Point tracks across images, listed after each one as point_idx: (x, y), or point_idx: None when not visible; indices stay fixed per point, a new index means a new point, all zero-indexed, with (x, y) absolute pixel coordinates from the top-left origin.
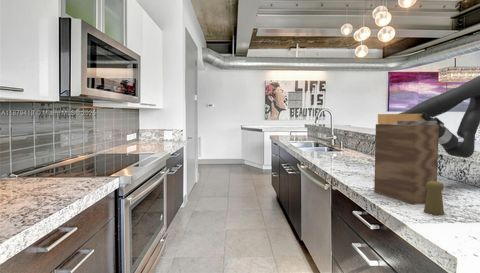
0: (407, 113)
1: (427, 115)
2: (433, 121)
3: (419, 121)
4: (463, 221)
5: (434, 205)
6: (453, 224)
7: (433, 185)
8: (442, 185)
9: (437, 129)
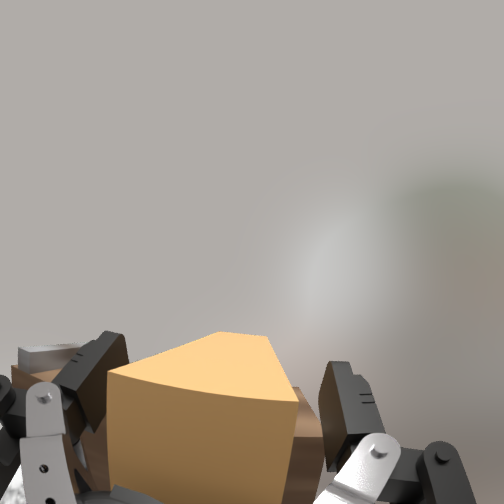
0: (328, 367)
1: (77, 358)
2: (35, 348)
3: (84, 343)
4: (6, 490)
5: None
6: (21, 478)
7: None
8: None
9: (17, 387)
